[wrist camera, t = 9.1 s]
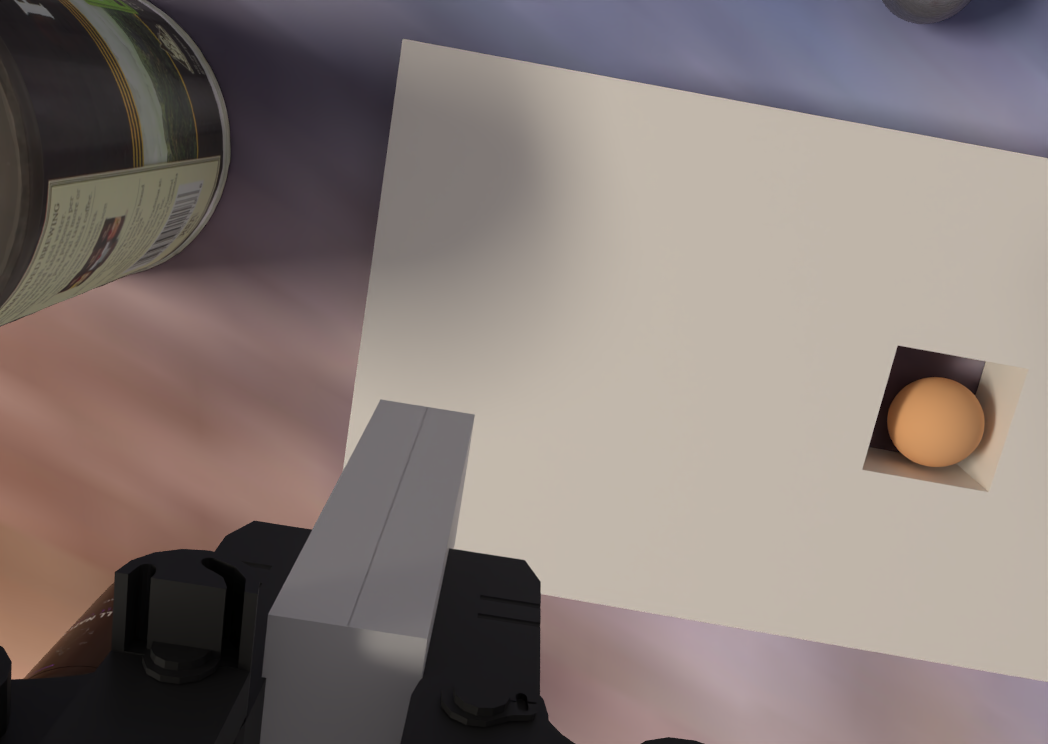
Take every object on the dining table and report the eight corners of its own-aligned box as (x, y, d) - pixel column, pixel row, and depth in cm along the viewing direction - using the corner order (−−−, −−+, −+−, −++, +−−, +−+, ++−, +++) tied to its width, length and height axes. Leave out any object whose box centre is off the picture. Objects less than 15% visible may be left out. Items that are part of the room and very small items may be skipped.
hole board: (415, 44, 34) (402, 38, 31) (1208, 191, 34) (1268, 199, 32) (347, 523, 38) (330, 557, 36) (1046, 645, 39) (1086, 688, 36)
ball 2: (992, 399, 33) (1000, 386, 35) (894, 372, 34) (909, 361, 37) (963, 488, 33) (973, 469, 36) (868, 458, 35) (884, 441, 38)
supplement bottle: (130, 527, 39) (-49, 707, 27) (291, 597, 39) (183, 802, 28) (74, 667, 40) (-116, 892, 29) (229, 732, 41) (104, 977, 29)
